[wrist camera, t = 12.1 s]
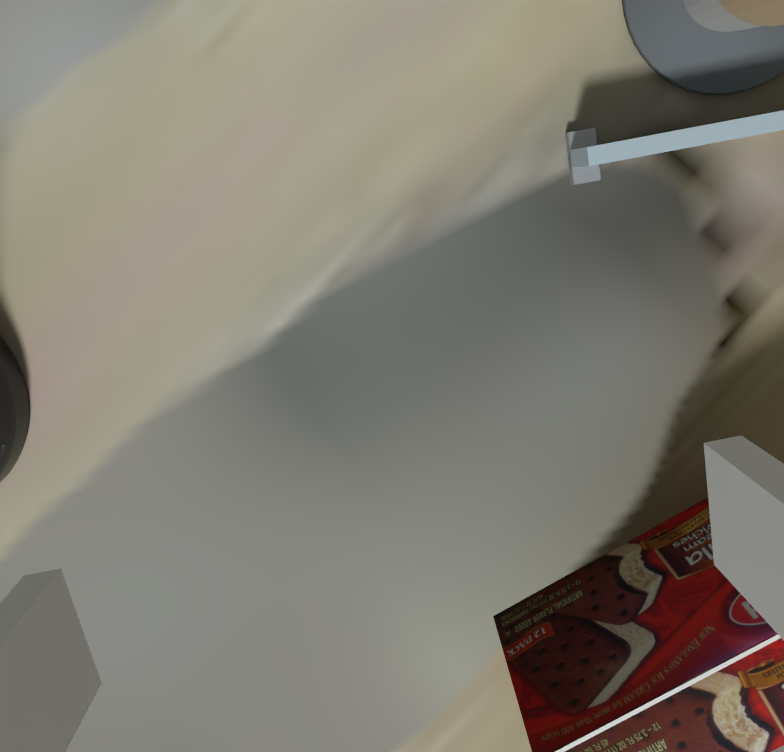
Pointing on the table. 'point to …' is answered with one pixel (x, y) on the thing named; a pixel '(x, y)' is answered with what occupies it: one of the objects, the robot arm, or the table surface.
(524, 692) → the ice cream box
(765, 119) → the grey bar handle
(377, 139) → the table surface
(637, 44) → the coaster
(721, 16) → the coffee cup
